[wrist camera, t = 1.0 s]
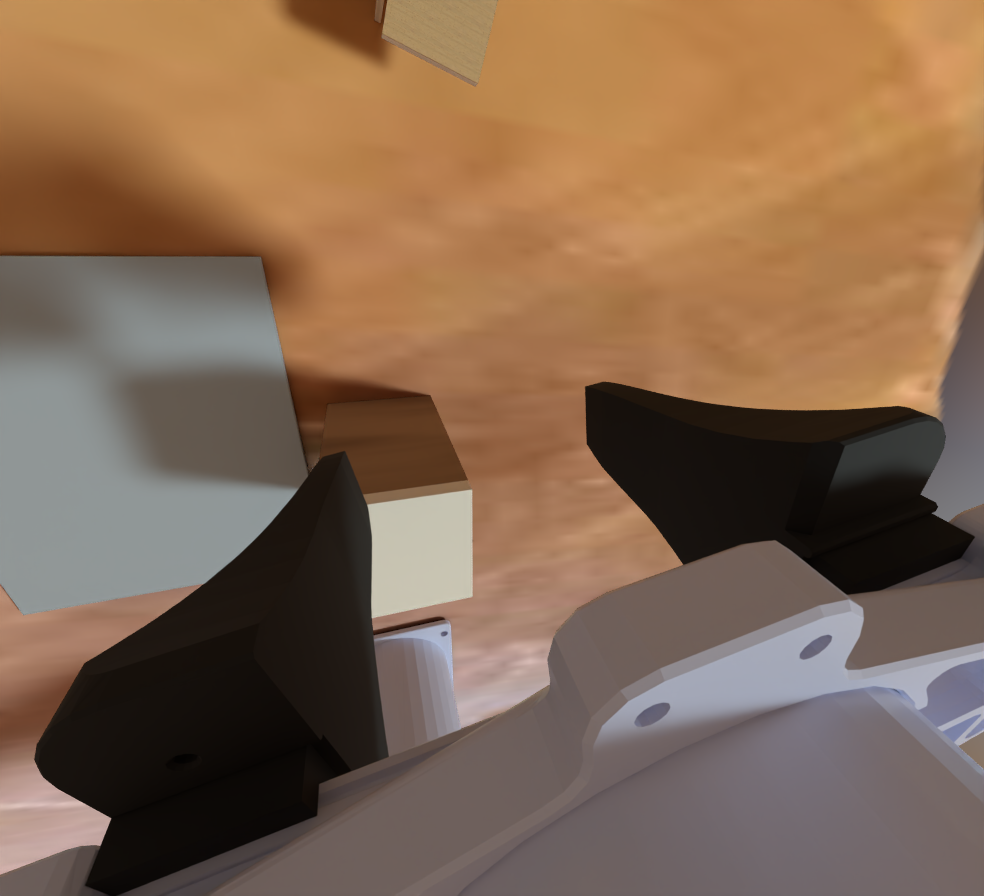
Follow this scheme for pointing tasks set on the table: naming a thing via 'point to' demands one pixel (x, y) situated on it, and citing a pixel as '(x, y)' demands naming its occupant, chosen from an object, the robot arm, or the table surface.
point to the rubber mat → (137, 423)
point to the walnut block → (407, 499)
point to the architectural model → (441, 32)
